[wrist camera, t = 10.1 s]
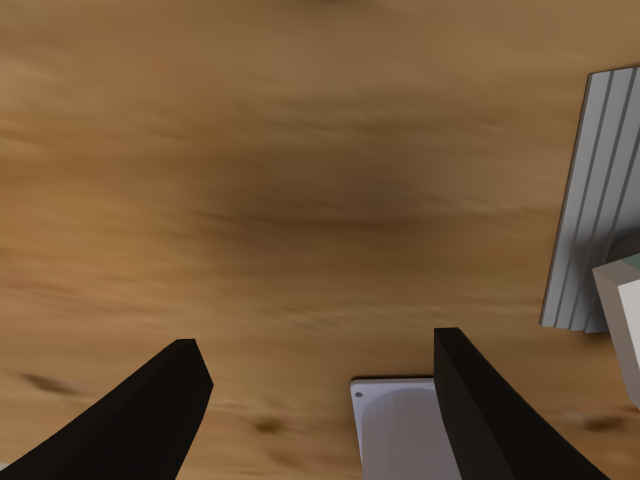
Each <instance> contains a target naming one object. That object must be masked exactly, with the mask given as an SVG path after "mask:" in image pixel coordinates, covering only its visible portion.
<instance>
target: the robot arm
mask: <svg viewBox="0 0 640 480" xmlns="http://www.w3.org/2000/svg"><path fill="white" fill-rule="evenodd" d="M213 385H214V384H213V382H212V380H211V377H210V375H209V372H208V370H207V367H206V365H205V363H204V360H203V358H202V355H201V353H200V351H199V348H198V346H197V343H196V341H195V339H177V340H175V341H174V342H173V343H171V344H170V345H168V346H167V347H166V348H164V349H163V350H162V351H161V352H159V353H158V354H157V355H155V356H154V357H153V358H152V359H150V360H149V361H148V362H147V363H145V364H144V365H143V366H142V367H140V368H139V369H138V370H137V371H136V372H134V373H133V374H132V375H131V376H129V377H128V378H127V379H126V380H124V381H123V382H122V383H121V384H119V385H118V386H117V387H116V388H114V389H113V390H112V391H110V392H109V393H108V394H107V395H105V396H104V397H103V398H102V399H100V400H99V401H98V402H96V403H95V404H94V405H92V406H91V407H90V408H88V409H87V410H86V411H84V412H83V413H82V414H81V415H79V416H78V417H77V418H75V419H74V420H73V421H71V422H70V423H69V424H67V425H66V426H65V427H63V428H62V429H61V430H59V431H58V432H57V433H55V434H54V435H52V436H51V437H50V438H48V439H47V440H45V441H44V442H43V443H41V444H40V445H38V446H37V447H35V448H34V449H33V450H31V451H30V452H28V453H27V454H25V455H24V456H22V457H21V458H19V459H18V460H16V461H15V462H13V463H12V464H10V465H9V466H7V467H6V468H4V469H3V470H1V471H0V480H175V479H176V477H177V474H178V472H179V470H180V468H181V466H182V464H183V461H184V459H185V457H186V455H187V453H188V451H189V448H190V446H191V444H192V442H193V440H194V437H195V435H196V433H197V431H198V429H199V426H200V424H201V422H202V419H203V417H204V414H205V411H206V408H207V405H208V402H209V398H210V395H211V392H212V389H213ZM350 389H351V396H352V402H353V409H354V416H355V422H356V429H357V435H358V442H359V448H360V455H361V461H362V474H363V480H611V479H609V478H608V477H607V476H606V475H605V474H604V473H602V472H601V471H600V470H599V469H598V468H597V467H595V466H594V465H593V464H592V463H591V462H590V461H589V460H588V459H586V458H585V457H584V456H583V455H582V454H581V453H580V452H579V451H578V450H576V449H575V448H574V447H573V446H572V445H571V444H570V443H569V442H568V441H567V440H566V439H564V438H563V437H562V436H561V435H560V434H559V433H558V432H557V431H556V430H555V429H554V428H553V427H552V426H551V425H550V424H549V423H548V422H546V421H545V420H544V419H543V418H542V417H541V416H540V415H539V414H538V413H537V412H536V411H535V410H534V409H533V408H532V407H531V406H530V405H529V404H528V403H527V402H526V401H525V400H524V399H523V398H522V397H521V396H520V395H519V394H518V393H517V392H516V391H515V390H514V389H513V388H512V387H511V385H510V384H509V383H508V382H507V381H506V380H505V379H504V378H503V377H502V376H501V375H500V374H499V373H498V372H497V371H496V370H495V369H494V367H493V366H492V365H491V364H490V363H489V362H488V361H487V360H486V359H485V358H484V356H483V355H482V354H481V353H480V352H479V351H478V350H477V348H476V347H475V346H474V345H473V344H472V343H471V341H470V340H469V339H468V338H467V337H466V336H465V334H464V333H463V332H462V331H461V330H460V329H459V328H458V327H455V328H434V378H415V379H365V380H354V381H352V382H351V386H350Z"/></svg>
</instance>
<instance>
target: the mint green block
mask: <svg viewBox="0 0 640 480" xmlns="http://www.w3.org/2000/svg"><path fill="white" fill-rule="evenodd" d="M592 271H593V275H594V278H595V282H596V285H597V289H598V292H599V296H600V299H601V303H602V306H603V310H604V313H605V317H606V320H607V324H608V327H609V331H610V334H611V338H612V341H613V345H614V348H615V352H616V355H617V359H618V362H619V366H620V369H621V373H622V376H623V380H624V383H625V386H626V390H627V393H628V397H629V399H630V400H631V401H632V402H633V403H634V404H635V405H636V407H637V408H638V409H639V410H640V234H639V235H634V236H630V237H627V238H625V239H623V240H621V241H619V242H618V243H617V244H616V245H615V246H614V247H613V248H612V249H611V251H610V252H609V255H608V264H605V265H602V266H599V267H596V268H593V269H592Z"/></svg>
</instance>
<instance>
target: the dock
mask: <svg viewBox="0 0 640 480" xmlns="http://www.w3.org/2000/svg"><path fill="white" fill-rule="evenodd" d="M639 234H640V66H638V67H632V68H625V69H619V70H613V71H606V72H600V73H593V74H589V78H588V83H587V88H586V93H585V98H584V103H583V108H582V113H581V118H580V124H579V129H578V134H577V139H576V144H575V149H574V154H573V159H572V164H571V169H570V174H569V179H568V184H567V189H566V194H565V199H564V204H563V209H562V214H561V219H560V224H559V229H558V234H557V239H556V244H555V249H554V254H553V259H552V264H551V269H550V274H549V280H548V285H547V290H546V295H545V300H544V305H543V310H542V315H541V320H540V325H541V327H547V326H554V327H555V328H556V329H562V328H568V329H569V330H570V331H579V330H583V331H584V332H585V333H598V332H610V331H609V327H608V324H607V320H606V317H605V313H604V310H603V306H602V303H601V299H600V296H599V292H598V289H597V285H596V282H595V278H594V275H593V271H592V269H593V268H596V267H599V266H602V265H605V264H608V255H609V252H610V251H611V249H612V248H613V247H614V246H615V245H616V244H617V243H618V242H619V241H621V240H623V239H625V238H627V237H630V236H634V235H639Z"/></svg>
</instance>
